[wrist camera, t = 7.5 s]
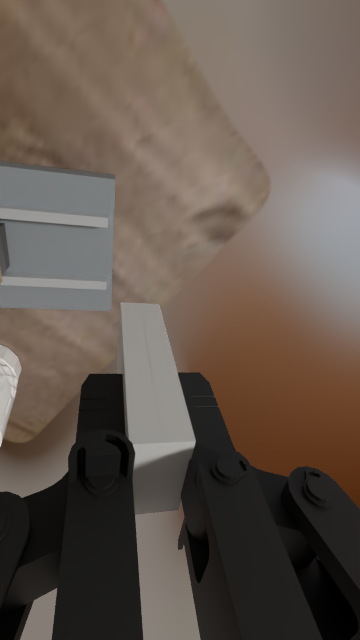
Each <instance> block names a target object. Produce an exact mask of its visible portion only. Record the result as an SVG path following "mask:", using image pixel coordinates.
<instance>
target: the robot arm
mask: <svg viewBox="0 0 360 640" xmlns="http://www.w3.org/2000/svg"><path fill="white" fill-rule="evenodd" d="M68 468H69V470H68V472H67V473H66V474H65V476H64V477H63V478H62V479H61V480H59V481H58V482H57V483H55V484H54V485H52V486H50V487H48V488H46V489H44V490H42V491H40V492H37V493H34V494H32V495H29V496H26V497H24V498H21V497H20V496H19V495H16V494H13V493H11V492H0V640H20V638H21V635H22V632H23V629H24V626H25V624H26V621H27V618H28V615H29V612H30V610H31V607H32V604H33V601H34V600H35V599H37V598H39V597H41V596H42V595H45V594H46V593H48V592H50V591H52V590H54V589H56V588H57V597H56V606H55V615H54V624H53V634H52V640H143V630H142V615H141V601H140V586H139V572H138V571H139V570H138V555H137V540H136V524H135V514H144V513H154V512H163V511H173V510H178V509H179V506H180V501H181V500H182V505H183V511H184V516H185V517H184V521H183V524H182V528H181V532H180V535H179V539H178V550H179V549H182V548H183V545H184V546H185V552H186V557H187V563H188V569H189V574H190V581H191V586H192V592H193V598H194V604H195V609H196V615H197V621H198V627H199V632H200V638H201V640H360V509H359V508H358V507H357V506H356V505H355V503H354V502H353V501H352V500H351V499H350V498H349V496H348V495H347V494H346V493H345V492H344V491H343V490H342V489H341V487H340V486H339V485H338V484H337V483H336V482H335V481H334V480H333V479H332V478H331V477H330V476H328V475H327V474H325V473H323V472H322V471H320V470H318V469H315V468H310V467H298V468H296V469H295V470H294V471H292V472H291V473H290V475H289V477H286V476H282V475H277V474H273V473H269V472H265V471H262V470H259V469H256V468H255V467H253V466H251V465H250V463H249V462H248V460H247V459H246V458H245V457H244V456H242V455H241V454H240V453H239V452H237V451H236V450H235V448H234V446H233V443H232V441H231V438H230V436H229V433H228V431H227V428H226V425H225V422H224V420H223V417H222V415H221V412H220V410H219V408H218V404H217V402H216V399H215V398H214V394H213V391H212V388H211V386H210V383H209V382H208V381H207V380H206V379H205V378H204V377H203V376H202V375H201V374H200V373H177V369H176V365H175V362H174V358H173V354H172V351H171V347H170V343H169V340H168V336H167V332H166V328H165V324H164V321H163V317H162V313H161V310H160V306H159V304H142V303H121V305H120V321H119V336H118V351H117V374H89V376H88V377H87V379H86V380H85V381H84V383H83V384H82V387H81V396H80V406H79V415H78V425H77V434H76V443H75V444H74V445H73V446H72V448H71V451H70V454H69V457H68Z"/></svg>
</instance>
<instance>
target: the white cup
mask: <svg viewBox="0 0 360 640" xmlns="http://www.w3.org/2000/svg"><path fill="white" fill-rule="evenodd" d="M21 369H22V368H21V365H20V362H19V359H18V357H17V356H16V355H15V354H14V353H13V352H12V351H11V350H10V349H9V348H7V347H5V346H2V345H0V446H1V443H2V440H3V437H4V433H5V430H6V426H7V423H8V419H9V416H10V412H11V409H12V406H13V402H14V399H15V394H16V391H17V383H18V379H19V376H20V372H21Z"/></svg>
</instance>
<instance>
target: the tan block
mask: <svg viewBox="0 0 360 640" xmlns="http://www.w3.org/2000/svg"><path fill="white" fill-rule="evenodd" d="M9 266H10V262H9V254H8V246H7V238H6V231H5V223H0V284H1V282H2V276H3V274H4V273H5V272H6V270H7V269H8V268H9Z"/></svg>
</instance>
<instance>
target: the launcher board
mask: <svg viewBox="0 0 360 640" xmlns="http://www.w3.org/2000/svg"><path fill="white" fill-rule="evenodd" d="M114 204H115V175H111V174H103V173H95V172H87V171H79V170H70V169H62V168H54V167H46V166H37V165H29V164H21V163H13V162H5V161H0V223H5V231H6V238H7V246H8V254H9V262H10V266H9V268H8V269H7V270H6V272H5V273H4V274H3V276H2V282H1V284H0V307H5V308H35V309H65V310H95V311H111V295H112V264H113V234H114Z"/></svg>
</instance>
